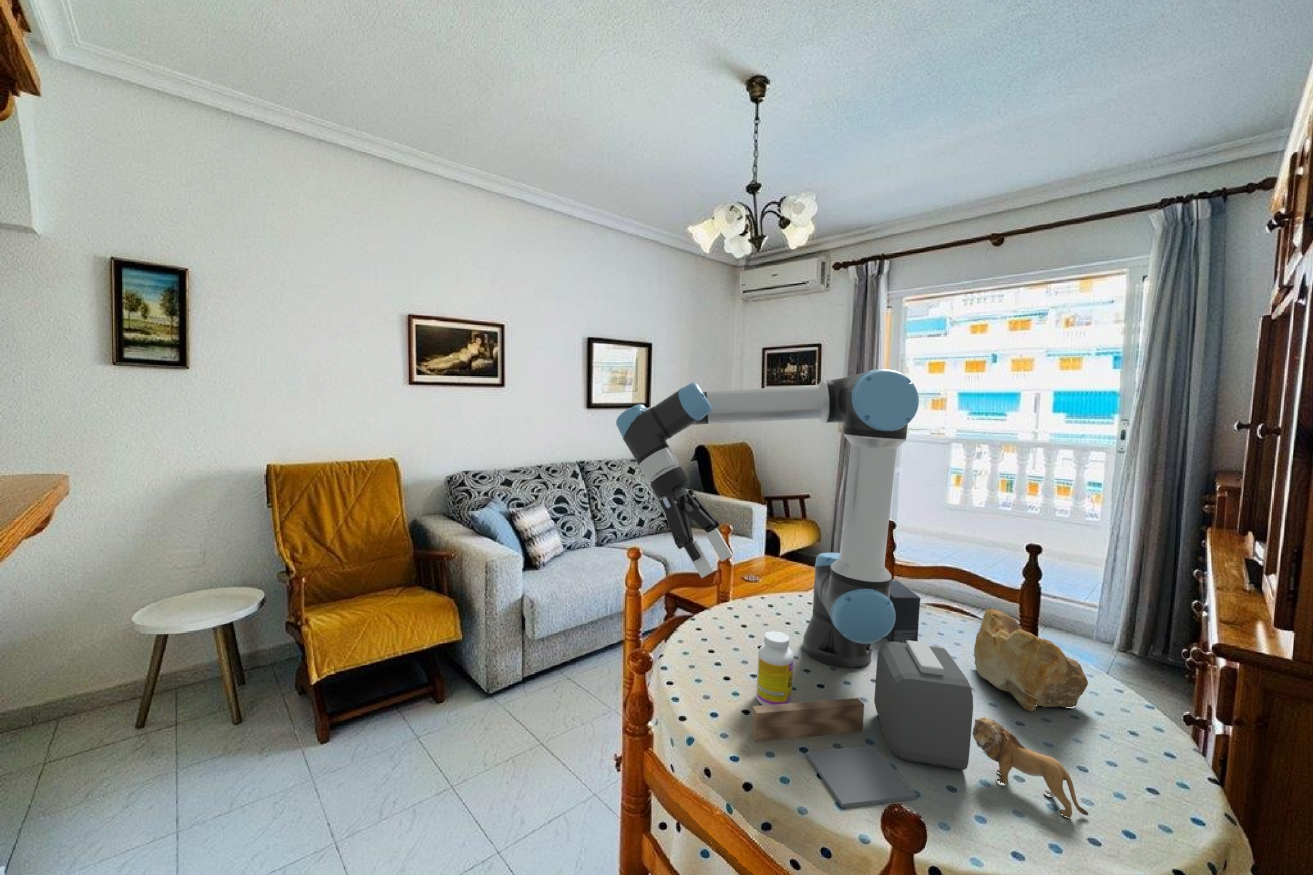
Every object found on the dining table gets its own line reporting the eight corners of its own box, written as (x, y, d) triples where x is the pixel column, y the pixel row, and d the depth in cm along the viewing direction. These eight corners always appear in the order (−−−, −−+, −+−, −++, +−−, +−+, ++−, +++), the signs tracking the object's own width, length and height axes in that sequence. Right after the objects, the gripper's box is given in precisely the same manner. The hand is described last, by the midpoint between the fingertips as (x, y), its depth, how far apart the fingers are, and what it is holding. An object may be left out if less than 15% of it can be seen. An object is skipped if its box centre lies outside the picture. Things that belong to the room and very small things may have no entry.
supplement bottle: (792, 713, 96) (795, 646, 95) (755, 708, 98) (759, 642, 97) (790, 693, 103) (793, 631, 102) (756, 688, 104) (759, 626, 103)
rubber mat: (872, 748, 87) (872, 745, 87) (916, 798, 76) (916, 794, 76) (806, 755, 85) (806, 751, 85) (842, 807, 74) (842, 803, 74)
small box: (867, 621, 139) (870, 577, 138) (892, 622, 139) (895, 578, 139) (890, 644, 126) (894, 596, 125) (918, 645, 126) (922, 597, 125)
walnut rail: (856, 724, 94) (857, 697, 93) (862, 731, 92) (864, 704, 91) (751, 733, 90) (752, 706, 89) (755, 741, 88) (756, 713, 88)
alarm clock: (967, 778, 81) (975, 682, 80) (889, 765, 83) (896, 671, 82) (934, 716, 97) (940, 636, 96) (870, 707, 99) (875, 628, 98)
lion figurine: (966, 776, 81) (970, 721, 81) (972, 759, 85) (977, 707, 85) (1087, 829, 72) (1094, 767, 71) (1088, 807, 76) (1094, 748, 75)
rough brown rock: (1117, 743, 92) (1132, 661, 92) (1015, 721, 95) (1028, 642, 94) (1044, 679, 115) (1055, 613, 114) (963, 663, 118) (974, 599, 117)
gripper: (672, 478, 120) (720, 560, 116) (624, 489, 97) (681, 591, 93) (698, 461, 118) (748, 544, 113) (654, 468, 95) (715, 572, 90)
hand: (718, 566), depth 103 cm, fingers open, 13 cm apart
